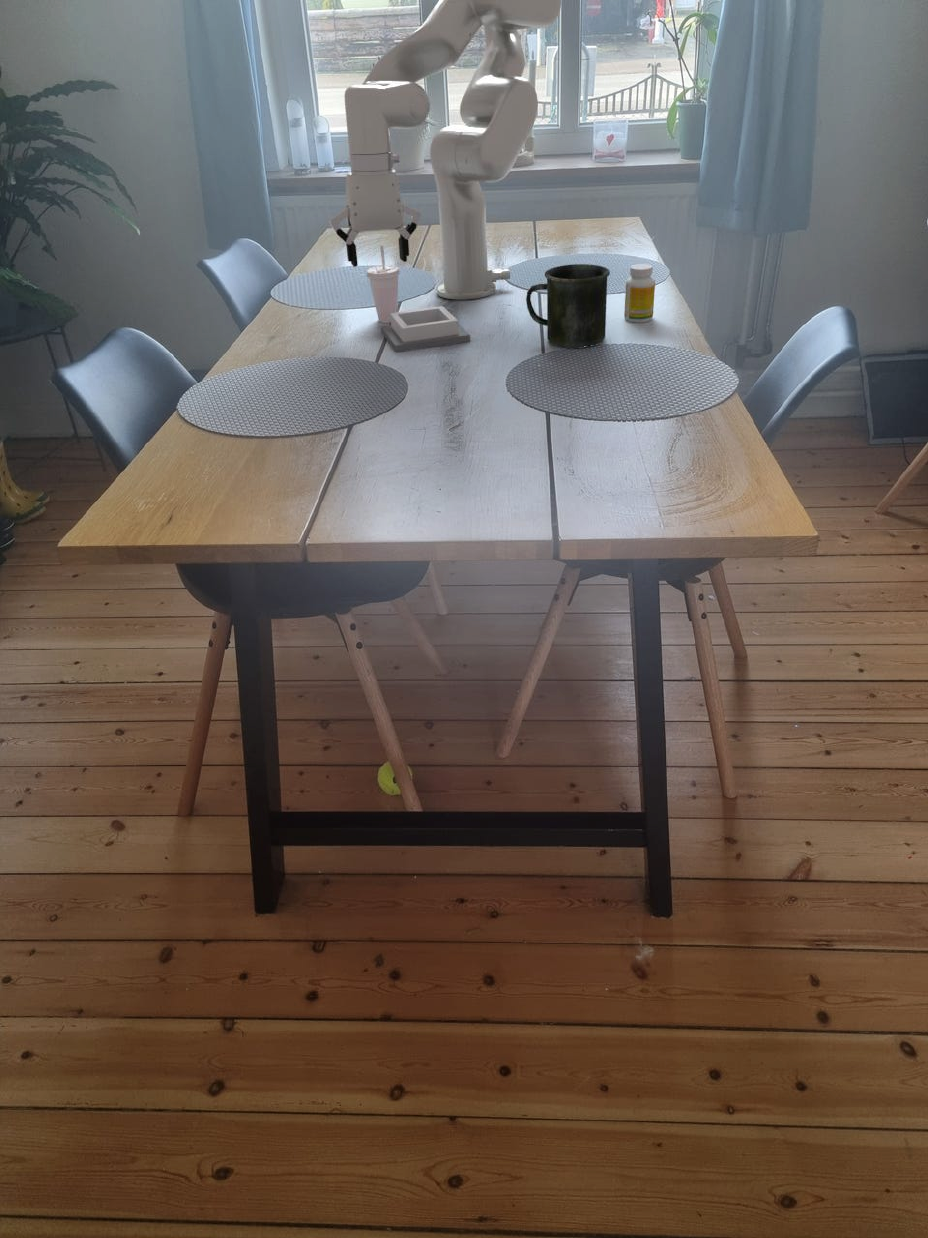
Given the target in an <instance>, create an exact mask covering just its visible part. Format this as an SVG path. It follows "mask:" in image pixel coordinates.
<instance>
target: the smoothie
mask: <svg viewBox="0 0 928 1238" xmlns="http://www.w3.org/2000/svg"><path fill="white" fill-rule="evenodd" d="M379 248H380V257H381V265H379V266H373V267H370V268H369V269H367V270H366V277H367V278H368V279H369V285H370V288H371V292H372V297H373V302H374V305H375V311H376V314H377V319H378V322H379V323H383V324H387V323H388V324H391V319H390V313H397V312H398V307H399V306H398V305H399V304H398V302H399V301H398V299H399V295H398V294H399V276H400V274H401V273H400V268H399V267H398V266H394V265H386V261H385V254H384V253H385V251H384V245H383V244H380V245H379Z"/></svg>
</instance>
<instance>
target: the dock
mask: <svg viewBox="0 0 928 1238" xmlns="http://www.w3.org/2000/svg"><path fill="white" fill-rule="evenodd" d="M390 319H391V322H390V324H386V325H381V326H380V332H381V334H382V335H383V337H384V338H385V340H387V342H388V344H390V346H391V348H392V349H393V350H394V351H395V352H396V353H401V352H408V351H414V350H415V351H416V350H419V349H420V350H421V349H428V348H435V347H441V346H448V345H455V344H461V343H467V342H471V334H470V333H469V332H468V331H467V330H466V329H465V328H464V327H462V326H461V325H460V323H459V320H458V319H457V318H456V317H455V316H454V315H453V314H451V312H450V311H448V309H446V308H445V307H444V305H441V306H435V307H434V306H433V307H425V308H419V309H413V310H405V311H399V312H398V311H397V313H390Z"/></svg>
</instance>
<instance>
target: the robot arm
mask: <svg viewBox="0 0 928 1238" xmlns="http://www.w3.org/2000/svg"><path fill="white" fill-rule="evenodd" d="M561 7H562V0H438V1H437V3H436V4H435V6H434V7H433V9H432V10H431V12H430V13H429V14H428V16H427V18H426V19H425V20H424V22H423V23H422V25H421V26H419V28H417V29H416V30H415V31H414V32H412V33H410V34H409V35H408V36H407V37H405V38H403V40H402V41H400V42H399V43H397V44H396V45H395V46H393V47H392V48H390V49H389V50H388V51H387V52H386V53H384V55H383V56H382V57H381V58H380V59H378V61H377V62H376V63H375V64H374V66H373V68H372V69H371V71H370V72H369V73H368V75H367V76H366V78H365V79H364V80H363V83H362V84H357V85H351V86H348V87H347V88H346V90H345V91H344V107H345V117H346V118H345V119H346V130H347V141H348V142H347V143H348V152H349V163H350V172H347V173H346V179H345V181H346V182H345V202H346V207H345V208H343V209H342V210H341V211H339V212H337V213H336V214H335V215H334V216H332V217H330V219H329V220H328V221H329V224H330V226H331V228H332V229H333V230H334V232H335V234H336V235H337V236H338V237H339V238H340V239H341V240H342V241H344V242H345V243H346V244H345V245H346V255H347V261H348V262H350V264H351V266H352V267H354V268H356V267H357V266H358V265H359V263H358V255H357V254H358V252H357V246H356V244H355V239H356V237H358V235H359V234H360V233H361V234H362V233H374V232H375V233H376V232H385V231H394V230H396V231H397V232H398V234H399V237H398V250H399V251H398V252H399V260H401V261H402V262H404V263H407V261H408V257H410V244H409V240H410V238H411V235H412V234H413V233H414V232H415V230H416V229H417V227H418V224H419V222H420V218H421V216H422V213H421V211H418V210H416V209H414V208H412V207H410V206H408V205H406V204H404V203H402V201H403V200H402V195H401V188H400V182H399V179H398V174H397V171H396V169H393V168H394V165H395V164H399V163H400V155H399V154H394V153H393V152H392V149H391V133H390V130H391V129H397V130H398V129H399V130H410V129H411V130H412V129H415V128H418V127H419V126H421V125H422V124H424V123H425V121H426V120H427V118H428V116H429V113H430V110H431V109H430V108H431V106H430V105H431V103H430V97H429V95H428V93H427V91H426V90H425V88H423V86H421V85H420V84H418V83H417V82H420V81H421V80H424V79H425V78H429V77H431V76H433V75H436V74H439V73H442V72H443V71H445V70H447V69H449V68H450V67H453V66H454V65H455V64H456V63H457V62H458V61H459V59H460V58H461V57H462V55H463V53H464V52H465V50H466V48H467V47H468V45H470V43H471V41H472V40H473V38H474V37H475V36H476V34H477V32H478V31H479V30H480V28H481V27H482V26H483V30H484V36H485V37H484V38H485V48H484V51H483V55H482V58H481V59H480V61H479V64H478V66H477V68H476V70H475V72H474V74H473V76H472V77H471V80H470V82H469V83H468V86H467V87H466V90H465V91H464V94H463V96H462V98H461V103H460V107H459V108H460V109H459V114H460V118H461V120H462V122H463V123H464V124H465V125H464V124H455V125H449V126H445V127H442V128H441V129H440V130H438V131H437V132H436V133H435V135H434V136H433V138H432V140H431V144H430V150H429V154H430V155H429V157H430V163H431V166H432V171H433V175H434V179H435V184H436V191H437V198H438V199H437V200H438V201H437V202H438V211H439V213H438V215H439V229H440V245H441V259H442V276H443V283H441V284H440V285H438V287H437V288H436V293H437V295H438V296H439V297H440V298H444V299H448V300H462V301H463V300H472V299H473V300H474V299H475V300H476V299H481V298H485V297H488V296H491V295H493V294H495V292H496V291H497V290H496V289H497V286H496V282H497V281H505V280H510V279H511V272H510V271H511V270H509V269H502V270H501V269H500V268H498V269H491V268H490V267H489V266H488V240H487V238H488V237H487V217H486V216H487V213H486V212H487V211H486V210H487V208H486V200H485V196H484V195H485V194H484V192H483V188H482V187H481V184H480V182H482V183H483V182H484V183H496V182H499V181H501V180H503V179H504V178H505V177H506V176H508V175H509V173H510V171H511V170H512V168H513V167H514V165H515V163H516V161H517V158H518V157H519V155H520V153H521V152H522V149H523V147H524V145H525V143H526V141H527V139H528V137H529V136H530V133H531V131H532V128H533V127H534V124H535V122H536V119H537V114H538V107H539V106H538V105H539V103H538V101H539V100H538V94H537V91H536V88H535V86H534V85H533V83H531V82H530V80H528V79H527V78H524V77H522V76H523V73H524V70H525V64H526V63H525V62H526V61H525V54H524V51H523V47H522V45H521V41H520V37H519V33H518V30H520V31H521V30H536V29H537V30H539V29H540V30H541V29H546V28H548V27H550V26H551V25H552V24H554V22H555V21H556V20H557V19H558V16H559V15H560V12H561ZM404 214H406V215H409V216H410V217H411V218H410V221H409V223H408V224H407V225H406V226H404ZM344 220H346V222H347V226H348V227H349V228H348V230H347V232H345V231H344V230H343V229H342V228H341V225H340V223H341V222H342V221H344Z"/></svg>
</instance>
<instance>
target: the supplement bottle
mask: <svg viewBox="0 0 928 1238" xmlns="http://www.w3.org/2000/svg"><path fill="white" fill-rule="evenodd" d="M653 268H654V267H653V265H651V264H648V263H640V264H639V263H637V264H633V265H631V266H630V271H629V274H630V277H628V278H627V279H626V282H625V293H624V294H625V296H624V312H623V313H624V316H623V317H624V320H625V321H627V322H629V323H637V324H638V323H639V324H641V323H647V322H650V321H652V320H653V316H654V304H655V290H656V281H655V278H654V277H653V276H652V274H653Z"/></svg>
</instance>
